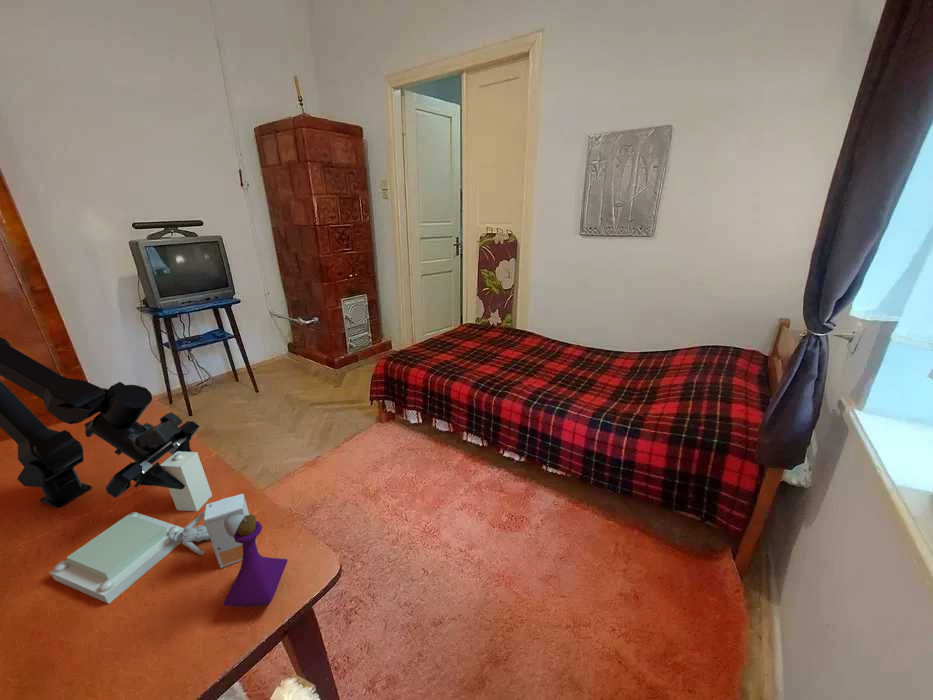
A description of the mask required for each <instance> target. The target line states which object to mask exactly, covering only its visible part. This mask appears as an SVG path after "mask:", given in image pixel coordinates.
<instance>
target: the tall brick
mask: <svg viewBox="0 0 933 700" xmlns="http://www.w3.org/2000/svg"><path fill="white" fill-rule="evenodd" d="M171 455H172V454H171ZM171 455H170V456H171ZM170 456H169V457H168V458H167V459H166V460H165V461H164V462H162V463H161V464H160V466H161V468H162V469H163V470H164V471H165V472H167V473H168V474H170V475H171V476H173V477H174V478H176V479H177V480H179V481H180V482H181V483H182V484H184V485H185V487H184V488H183V489H182V490H181V489H174V488H168V491H169V493H170V495H171V496H170V497H171V498H172V500H173V503H174V505H175V509H176V510H177V511H186V512H187V511H188V512H198V511H199V510H200V509H202V507H203V506H204V505H206V504H207V502H208V501H209V500H210V499H209V498H211V497H212V496H213V493H212V491H211V487H210V485H209V482H208V479H207V477H206V473H205V471H204V468H203V465H202V462H201V459H200V456H199V453H198V452H197V451H192V452H181V451H177V452H176V453H174V454H173V455H172V456H171V457H170ZM208 499H209V500H208Z"/></svg>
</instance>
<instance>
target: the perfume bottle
mask: <svg viewBox="0 0 933 700" xmlns="http://www.w3.org/2000/svg"><path fill="white" fill-rule="evenodd" d="M224 526H225V529H226V532H227V534H229V535H230V536H232V537H234V539H235V541H236V542H238V543H242V546H243V559H242V560H241V565H240V568H239V571H238V572H237V575H236V577H235V579H234V581H233V583H232V585H231V587H230V589H229V591H228V593H227V595H226V596H225V597H226V598H225V599H224V600H223V603H222V606H224V607H233V608H234V607H235V608H237V607H238V608H249V607H250V608H251V607H261V606H262V607H263V606H269V605H270V604H271V603H272V601H273V599H274V597H275V595H276V591H277V589H278V587H279V584H280V582H281V579H282V576H283V574H284V572H285V569H286V566H287V563H288V559H287V558H279V557H277V558H276V557H267V556H263V555H261V554H260V553H259V550H258V546H257V537H258V536H259V535H260V534H261V532H262V529H263V525H262V524H261V522H260V521H257V517H256V515H255V514H250V513H249V515H247V516H246V514H236V515H231V516H228V517H226V518H225V520H224Z"/></svg>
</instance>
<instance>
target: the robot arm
mask: <svg viewBox="0 0 933 700" xmlns="http://www.w3.org/2000/svg"><path fill="white" fill-rule="evenodd" d="M0 377H2V378H4V379H6V380H8V381H10V382H12V383H13V384H15V385H17V386H18V387H20V388H22V389H24V390H26V391H27V392H29V393H31V394H33V395H34V396H36V397H37V398H39V399H41V400H42V401H43V404H44V407H45V410H46V412H48V413H50V414H51V415H53V416H54V417H55V418H56V419H57V420H58V421H60V422H62V423H65V424H68V425H73V424H79V423H82V422H84V421H86V420H87V419H89V418H91V417H93V416H94V417H93V419H91V420H90V421H88V422H86V423H84V427H85V431H84V433H85V437H86V438H90V437H92V436H94V435H96V436H97V437H98V438H100V439H102V440H103V441H105V442H106V443H108V444H109V445H111V446H112V447H113V448H115V450H114V454H116V455H118V456H120V455H122V454H124V455H125V456H127V457H129V459H131V460H133V461H134V462H129V464H127V465H126V466H125V467H123V468H122V469H120V470H119V471H118V472H116V473H115V474H114V475H113V476H112V477H111V479H110V481H109V482H108V483H107V484H106V486H105V491H106V492H107V494H108V495H109V496H111V497H113V498H114V499H117V498H118V497H120V496H121V495H122V494H123V493H125V492H126V491H127V490H129V489H130V487H131V482H132V481H133V482H135V484H134V486H133V487H134V488H138V487H139V486H149V487H160V488H168V489H169V488H174V489H181V490H182V489H183V488H184V487H185V485H184V484H182V483H181V482H180V481H179V480H177V479H176V478H174V477H173V476H171V475H170V474H168V473H167V472H165V471H164V470H163V469H162V468H161V466H160V465H161V464H160V463H159V461H158V460H159V459H161V458H162V457H163V456H165V454H167V453H170V454H171V455H170V456H169V458H170V457H171V456H172V455H173V454H174V453H176V452H177V451H181V452H193V451H192V450H191V447H190V446H191V445H190V441H192V437H193V436H194V434H196V433H197V431H198V430H199V429H200V427H201V426H200V425H199V424H198V423H197V422H195V421H193V420H192V421H191V420H189V421H188V420H187V421H186V422H183V420H182V419H181V418H180V416H179V415H176V414H175V413H174V412H172V411H170V412H168V413H166V414H164V415H163V416H162V417H160V418H159V421H160V423H158V424H157V425H152V424H151V423H148V422H145V423H144V424H141V423H140V422H139V421H138V420H139V419H140V417H141V416H142V415H143V413H145V411H146V410H147V408H148V407H149V406H150V404H151V402H152V401H153V394H152V392H151V391H150V390H149V389H148V388H146V387H144V386H141V385H137V384H124V383H123V382H121V381H119V382H116V383H114V384H113V385H110V387H109V388H103V387H100V386H98V385H96V384H93V383H91V382H89V381H87V380H83V379H77V378H68V377H65V376H63V375H61V374H60V373H58V372H56V371H55V370H53V369H51V368H49V367H47V366H46V365H45V364H42V363H40V362H39V361H37V360H36V359H34V358H32V357H30V356H29V355H27V354H25V353H23V352H21V351H20V350H18V349H17V348H15V347H13V346H11V343H10V342H9V341H8V340H6V339H5V338H4V337H1V336H0ZM98 413H99V414H98ZM182 423H183V424H182ZM181 424H182V425H181ZM0 429H1V430H2V431H3V432H5V433H6V434H7V435H8V436H9V437H10V439H12V440H13V442H15V443H16V444H17V460H18V462H20V464H21V465H22V466H23V469H22V470H21V471H20V473H19V474H18V476H17V479H16V480H17V481H19V483H20V484H21V485H22V486H24V487H31V488H40V489H41V491H42V493H43V494H44V496H43V497H41V498H40V499H39V502H40V503H42V504H46V505H48V506H51V507H54V508H56V509H57V508H58V509H59V508H61V507H63V506H64V505H66V504H67V503H69V502H72V501H73V500H74V499H77V498H78V497H79V496H81V495H83V494H85V493H87V492H88V491H90V490H92V489H93V487H92V485H90V484H88V483H87V484H86V483H83V482H82V481H81V479H80V477H79V475H78V473H77V472H76V469H75V467H76V466H78V465H80V464H82V463H83V462H84V461H85V460H84V448H83V445H82V444H81V442H80V441H79V440H78V439H76V438H75V437H74V436H73V435H72V434H71V432H70V431H68V430H66V429H62V430H61V431H59V430H55V429H51V428H48V427H47V426H46V424H44V423H43V422H42V421H41V420H40V419H39V418H38V417H37V416H36V415H35V413H33V412H32V410H30V408H28V406H27V405H26V404H25V403H23V401H22V400H21V399H20V398H19V397H18V396H17V395H16V394H15V393H14V392H13V391H12V389H10V388H9V387H8V386H7V385H6V384H5V383H4V382H3V381H2V380H1V379H0Z"/></svg>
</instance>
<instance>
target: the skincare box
mask: <svg viewBox="0 0 933 700" xmlns="http://www.w3.org/2000/svg"><path fill="white" fill-rule="evenodd" d="M248 509H249V508H248V505H247V501H246V499H245V495H244V493H239V494H237V495H233V496H228V497H225V498H222V499H219V500H217V501H213V502H209V503H205V508H204V511H205V515H204V516H203V517H204V518H203V522H204V526H206V528H207V531H208V534H209V537H210V539H209V540H210V542H211V544H212V548H213V550H214V554H215V557H216V559H217V562H218V565H219V567H220V568H221V569H222V568H225V567H227V566H230V565H232V564H235V563H238V562H242V559H243V546H242V543H238V542H236V541H235V539H234V537H232V536H230V535H229V534H227V532H226V529H225V526H224V520H225V518H226V517H228V516H231V515H236V514H246V516H247V515H250V512H249V510H248Z"/></svg>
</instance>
